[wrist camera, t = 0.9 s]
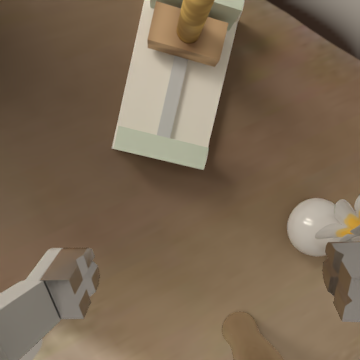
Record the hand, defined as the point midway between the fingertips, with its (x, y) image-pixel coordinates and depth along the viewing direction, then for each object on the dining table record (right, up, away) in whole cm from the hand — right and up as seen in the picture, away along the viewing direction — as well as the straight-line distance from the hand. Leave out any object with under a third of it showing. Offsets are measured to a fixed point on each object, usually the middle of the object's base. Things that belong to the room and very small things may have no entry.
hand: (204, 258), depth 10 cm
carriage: (0, +23, +31) cm, 38 cm away
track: (-2, +18, +34) cm, 39 cm away
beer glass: (+9, -23, +39) cm, 46 cm away
